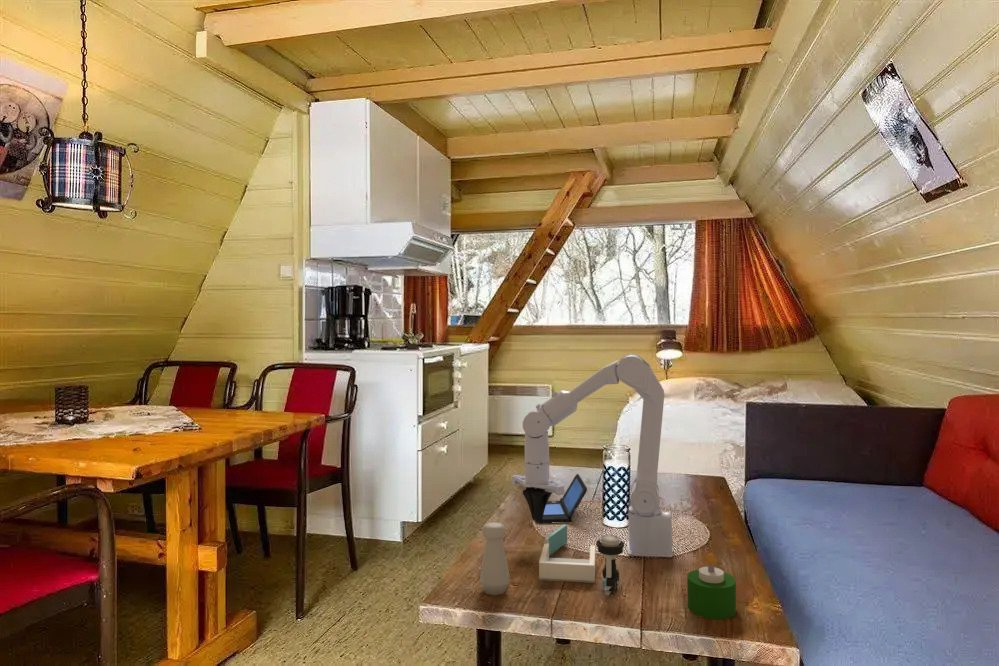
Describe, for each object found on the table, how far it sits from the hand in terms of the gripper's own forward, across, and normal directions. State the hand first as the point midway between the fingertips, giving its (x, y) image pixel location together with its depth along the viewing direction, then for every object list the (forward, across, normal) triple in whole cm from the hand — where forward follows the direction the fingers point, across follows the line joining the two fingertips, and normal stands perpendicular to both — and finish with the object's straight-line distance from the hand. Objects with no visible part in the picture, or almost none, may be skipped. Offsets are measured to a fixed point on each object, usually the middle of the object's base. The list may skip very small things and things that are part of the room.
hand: (537, 519), depth 147 cm
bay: (+6, +15, -7) cm, 17 cm away
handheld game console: (+6, -11, +20) cm, 24 cm away
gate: (+5, +6, 0) cm, 8 cm away
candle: (+6, +44, -3) cm, 45 cm away
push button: (+6, +27, -10) cm, 29 cm away
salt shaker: (+6, +11, -25) cm, 27 cm away
